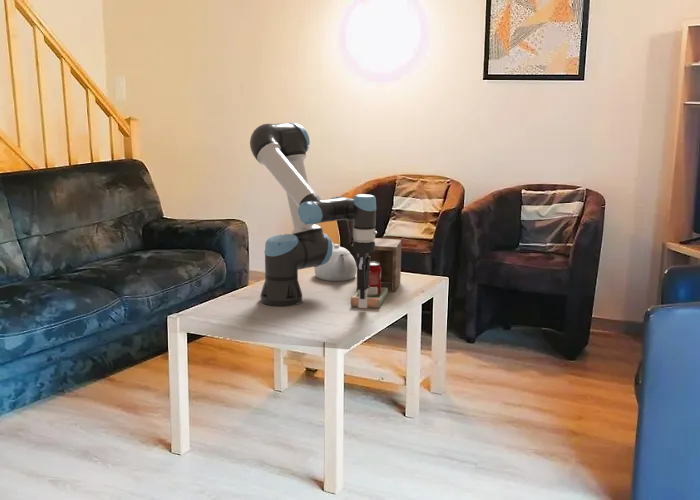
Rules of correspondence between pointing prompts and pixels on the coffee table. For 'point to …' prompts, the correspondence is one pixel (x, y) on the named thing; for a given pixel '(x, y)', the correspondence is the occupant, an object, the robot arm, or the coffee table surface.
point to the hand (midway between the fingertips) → (362, 307)
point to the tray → (370, 299)
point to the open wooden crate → (388, 260)
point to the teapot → (337, 266)
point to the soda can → (374, 280)
